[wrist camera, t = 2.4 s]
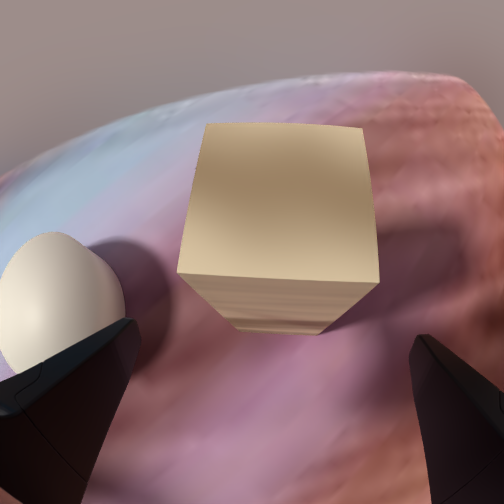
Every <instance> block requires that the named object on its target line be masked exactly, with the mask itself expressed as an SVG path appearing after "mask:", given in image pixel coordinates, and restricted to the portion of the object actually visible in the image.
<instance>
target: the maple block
mask: <svg viewBox="0 0 504 504" xmlns="http://www.w3.org/2000/svg"><path fill="white" fill-rule="evenodd" d="M177 274H179V275H180V276H181V277H182V278H183V279H184V280H185V281H186V282H187V283H188V284H189V285H190V286H191V287H192V288H193V289H194V290H195V291H196V292H197V293H198V294H199V295H200V296H202V297H203V298H204V299H205V300H206V301H207V302H208V303H209V304H210V305H211V306H212V307H213V308H214V309H216V310H217V311H218V312H219V313H220V314H221V315H222V316H223V317H224V318H225V319H226V320H228V321H229V322H230V323H231V324H232V325H233V326H234V327H235V328H236V329H238V330H239V331H241V332H255V333H271V334H290V335H316V336H317V335H318V334H319V333H320V332H322V331H323V330H324V329H325V328H327V327H328V326H329V325H330V324H332V323H333V322H334V321H335V320H337V319H338V318H339V317H340V316H341V315H343V314H344V313H345V312H346V311H347V310H349V309H350V308H351V307H352V306H353V305H355V304H356V303H357V302H358V301H359V300H360V299H362V298H363V297H364V296H365V295H366V294H367V293H368V292H370V291H371V290H372V289H373V288H374V287H375V286H376V285H377V284H379V283H380V282H379V261H378V246H377V234H376V223H375V213H374V204H373V195H372V187H371V180H370V173H369V166H368V160H367V154H366V148H365V142H364V136H363V131H362V128H353V127H342V126H330V125H315V124H296V123H211V124H206V127H205V132H204V136H203V140H202V144H201V149H200V153H199V158H198V162H197V167H196V171H195V176H194V181H193V186H192V190H191V195H190V200H189V205H188V211H187V216H186V221H185V227H184V232H183V238H182V244H181V249H180V255H179V262H178V268H177Z"/></svg>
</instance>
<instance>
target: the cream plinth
mask: <svg viewBox="0 0 504 504" xmlns="http://www.w3.org/2000/svg"><path fill="white" fill-rule="evenodd" d="M124 317H125V301H124V295H123V291H122V288H121V285H120V282H119V280H118V278H117V276H116V274H115V273H114V271H113V269H112V268H111V267H110V266H109V265H108V264H107V263H106V262H105V261H104V260H103V259H102V258H100V257H99V256H97V255H96V254H95V253H93V252H92V251H90V250H89V249H88V248H86V247H85V246H83V245H82V244H81V243H79V242H78V241H77V240H75V239H74V238H72V237H71V236H69V235H66V234H64V233H60V232H48V233H43V234H40V235H38V236H36V237H34V238H32V239H30V240H29V241H28V242H26V243H25V244H24V245H23V246H22V247H21V248H20V249H19V250H18V251H17V252H16V253H15V254H14V256H13V257H12V259H11V260H10V262H9V263H8V265H7V267H6V269H5V271H4V273H3V275H2V278H1V280H0V349H1V352H2V354H3V356H4V358H5V360H6V361H7V363H8V364H9V366H10V367H11V368H12V369H13V370H14V371H15V372H16V373H17V374H19V373H21V372H23V371H25V370H27V369H29V368H31V367H33V366H35V365H37V364H39V363H40V362H43V361H44V360H46V359H48V358H50V357H51V356H53V355H55V354H57V353H59V352H61V351H63V350H64V349H66V348H68V347H70V346H72V345H74V344H75V343H77V342H79V341H81V340H83V339H85V338H86V337H88V336H90V335H92V334H94V333H96V332H98V331H99V330H101V329H103V328H105V327H107V326H109V325H110V324H112V323H114V322H116V321H118V320H120V319H122V318H124Z"/></svg>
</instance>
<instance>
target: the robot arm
mask: <svg viewBox="0 0 504 504" xmlns="http://www.w3.org/2000/svg"><path fill="white" fill-rule="evenodd" d="M140 345H141V336H140V332H139V328H138V325H137V321H136V320H135V319H133V318H127V317H124V318H122V319H120V320H118V321H116V322H114V323H112V324H110V325H109V326H107V327H105V328H103V329H101V330H99V331H98V332H96V333H94V334H92V335H90V336H88V337H86V338H85V339H83V340H81V341H79V342H77V343H75V344H74V345H72V346H70V347H68V348H66V349H64V350H63V351H61V352H59V353H57V354H55V355H53V356H51V357H50V358H48V359H46V360H44V361H43V362H40V363H39V364H37V365H35V366H33V367H31V368H29V369H27V370H25V371H23V372H21V373H19V374H17V375H15V376H13V377H10V378H8V379H6V380H4V381H1V382H0V504H81V501H82V498H83V495H84V493H85V490H86V487H87V483H88V481H89V478H90V476H91V473H92V470H93V468H94V465H95V462H96V460H97V457H98V455H99V452H100V450H101V447H102V445H103V442H104V440H105V437H106V435H107V432H108V430H109V427H110V425H111V422H112V420H113V418H114V415H115V413H116V411H117V408H118V406H119V404H120V401H121V399H122V397H123V394H124V392H125V390H126V387H127V385H128V382H129V380H130V377H131V374H132V371H133V367H134V364H135V361H136V358H137V355H138V352H139V349H140ZM409 365H410V372H411V380H412V388H413V396H414V402H415V407H416V411H417V416H418V420H419V425H420V430H421V435H422V441H423V446H424V452H425V458H426V464H427V471H428V478H429V485H430V494H431V503H432V504H504V393H503V392H502V391H499V389H498V388H497V387H496V386H495V385H493V384H492V383H491V382H490V381H488V380H487V379H486V378H485V377H483V376H482V375H481V374H480V373H478V372H477V371H476V370H475V369H473V368H472V367H471V366H470V365H468V364H467V363H466V362H465V361H463V360H462V359H461V358H459V357H458V356H457V355H456V354H454V353H453V352H452V351H450V350H449V349H448V348H446V347H445V346H444V345H443V344H441V343H440V342H439V341H437V340H436V339H435V338H433V337H432V336H431V335H429V334H419V335H417V336H416V338H415V340H414V343H413V346H412V348H411V351H410V354H409Z"/></svg>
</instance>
